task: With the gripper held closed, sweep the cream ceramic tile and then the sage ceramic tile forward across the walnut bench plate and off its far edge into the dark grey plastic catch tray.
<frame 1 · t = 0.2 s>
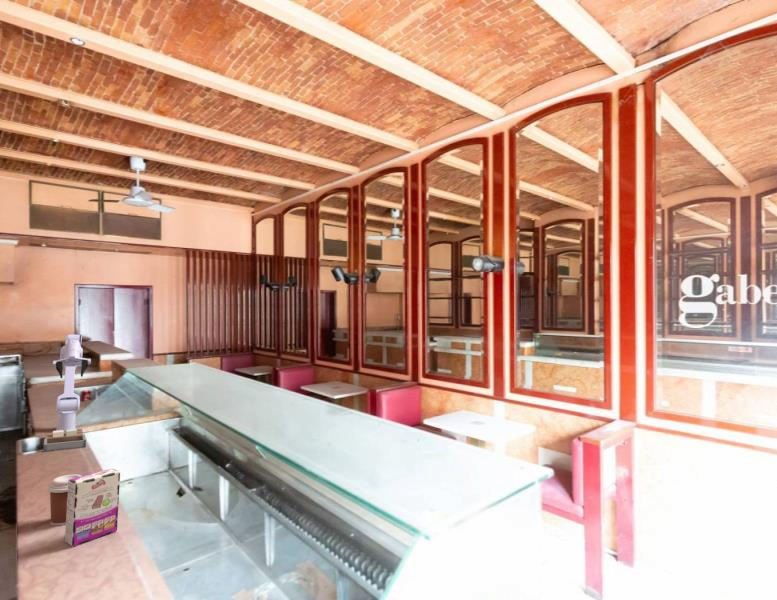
hand: (71, 376, 204), 31 cm above the table, tool tilted 45°, fingers open, 7 cm apart
candy bar box: (90, 537, 119), on the table
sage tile: (71, 434, 208), point 2 cm above the table, touching bench plate
coffee cup: (64, 521, 127), on the table
bench plate: (64, 439, 209), on the table
cream tile: (58, 435, 205), point 2 cm above the table, touching bench plate
catch tray: (64, 446, 198), on the table
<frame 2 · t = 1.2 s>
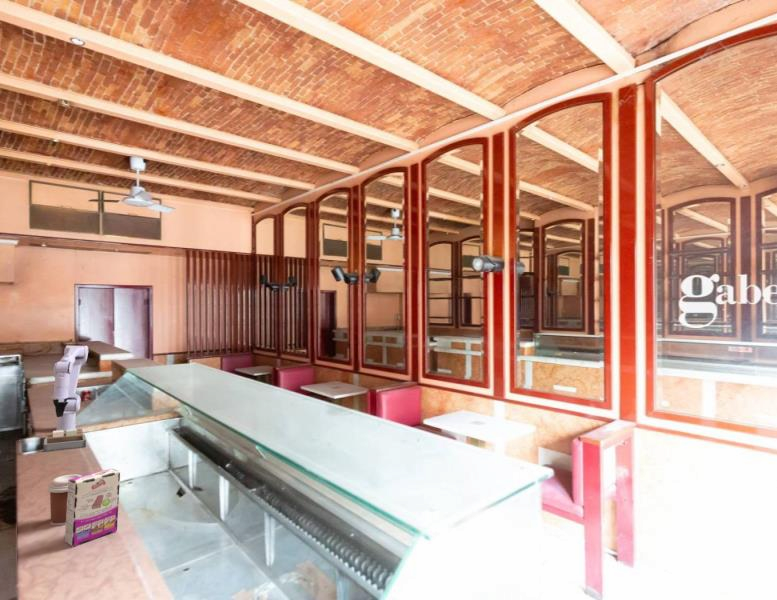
hand: (59, 415, 211), 11 cm above the table, tool pointing down, fingers open, 7 cm apart
nothing on the table moved.
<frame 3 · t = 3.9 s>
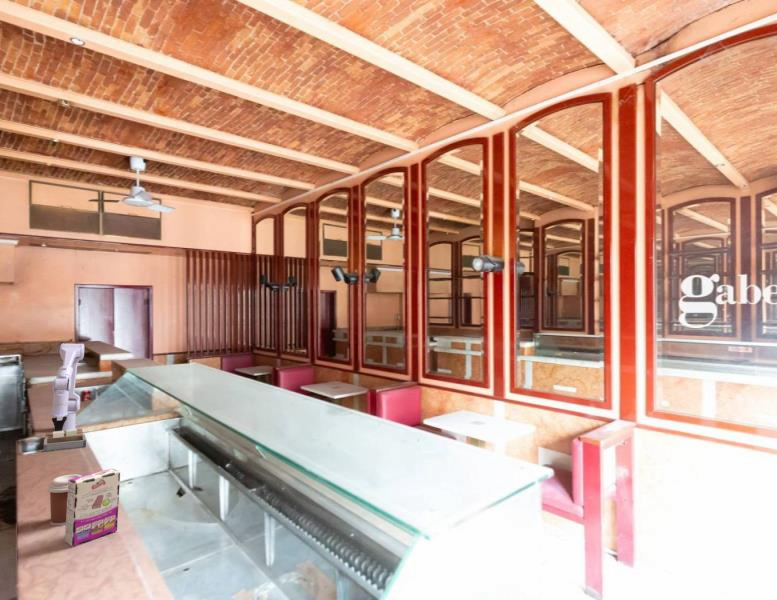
hand: (58, 433, 207), 3 cm above the table, tool pointing down, fingers closed
cream tile: (58, 436, 204), point 2 cm above the table, touching bench plate, gripper
everything else where it was.
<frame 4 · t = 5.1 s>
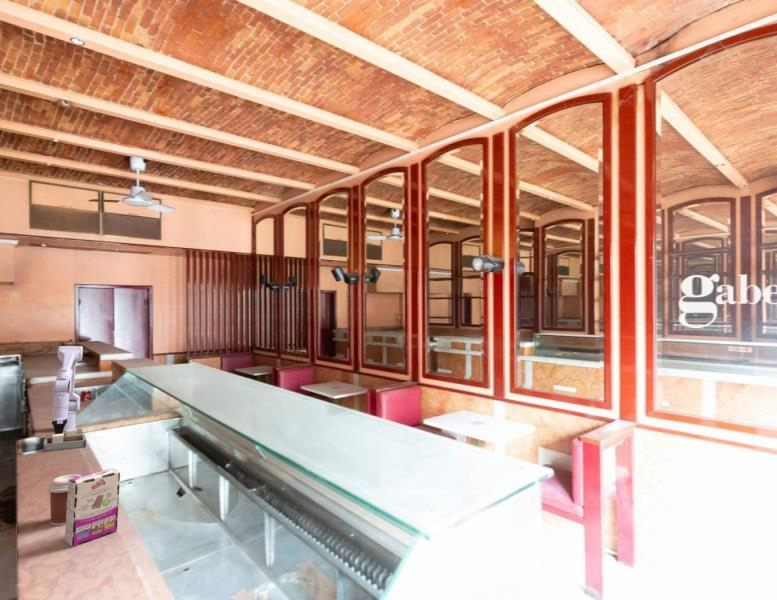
hand: (58, 436, 201), 3 cm above the table, tool pointing down, fingers closed
cream tile: (57, 438, 200), point 3 cm above the table, tilted 105°, touching catch tray
everything else where it was.
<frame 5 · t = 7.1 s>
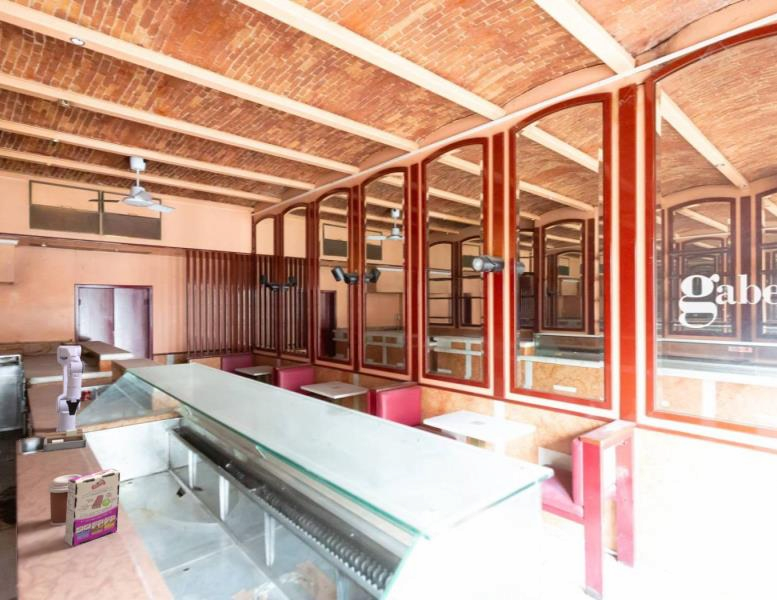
hand: (72, 415, 214), 10 cm above the table, tool pointing down, fingers closed
cream tile: (57, 440, 197), point 2 cm above the table, tilted 180°, touching catch tray
everything else where it was.
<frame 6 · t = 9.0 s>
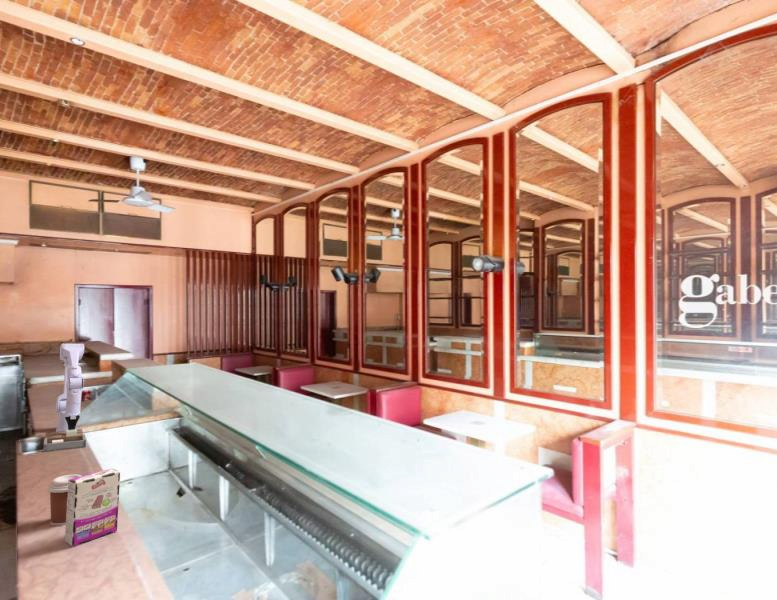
hand: (71, 431, 210), 3 cm above the table, tool pointing down, fingers closed
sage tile: (71, 435, 207), point 2 cm above the table, touching bench plate, gripper
everything else where it was.
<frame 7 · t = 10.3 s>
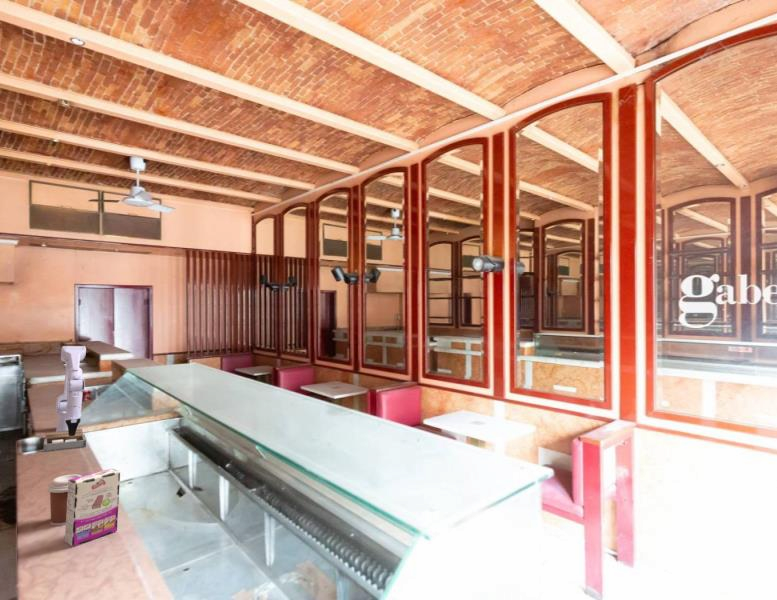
hand: (71, 435, 204), 3 cm above the table, tool pointing down, fingers closed
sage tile: (70, 440, 199), point 2 cm above the table, tilted 180°, touching catch tray
everything else where it was.
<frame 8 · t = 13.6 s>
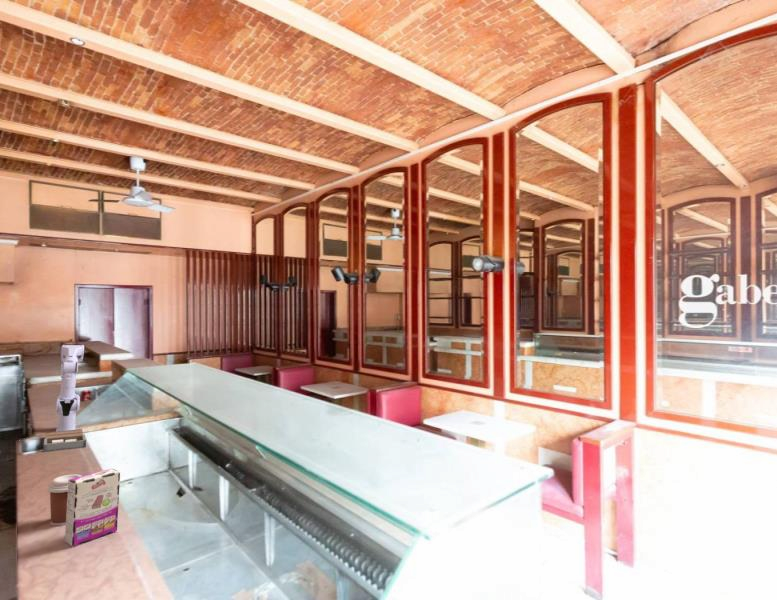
hand: (65, 415, 212), 10 cm above the table, tool pointing down, fingers closed
nothing on the table moved.
at the end: cream tile inside the target area on the catch tray (2.8 cm from its centre), point 2.5 cm above the catch tray's base; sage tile inside the target area on the catch tray (2.2 cm from its centre), point 2.5 cm above the catch tray's base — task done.
